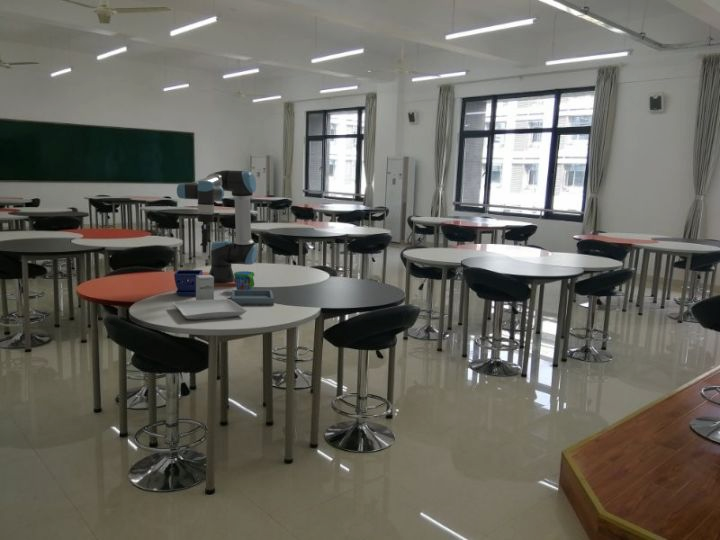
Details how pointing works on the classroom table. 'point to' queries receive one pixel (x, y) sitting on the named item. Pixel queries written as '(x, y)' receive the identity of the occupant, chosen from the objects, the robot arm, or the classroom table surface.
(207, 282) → the supplement box
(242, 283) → the snack cup
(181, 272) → the flower pot
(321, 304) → the classroom table surface
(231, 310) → the square plate
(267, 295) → the tray
